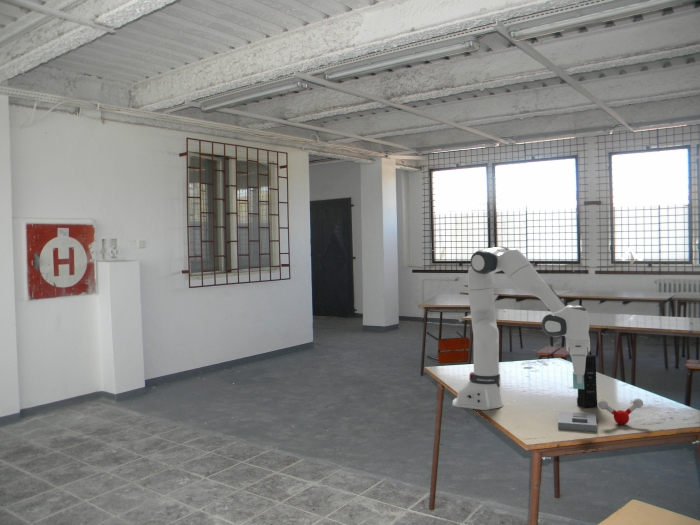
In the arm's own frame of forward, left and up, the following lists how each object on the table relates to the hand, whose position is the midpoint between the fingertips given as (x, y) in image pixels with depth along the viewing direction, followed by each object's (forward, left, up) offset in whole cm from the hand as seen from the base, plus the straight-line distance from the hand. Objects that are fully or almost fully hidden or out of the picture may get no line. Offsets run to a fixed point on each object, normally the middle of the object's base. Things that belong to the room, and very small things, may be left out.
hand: (579, 381), depth 231 cm
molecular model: (+15, +7, -18) cm, 25 cm away
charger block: (0, 0, -3) cm, 3 cm away
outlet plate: (-1, +3, -18) cm, 18 cm away
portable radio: (+3, +31, -18) cm, 36 cm away
